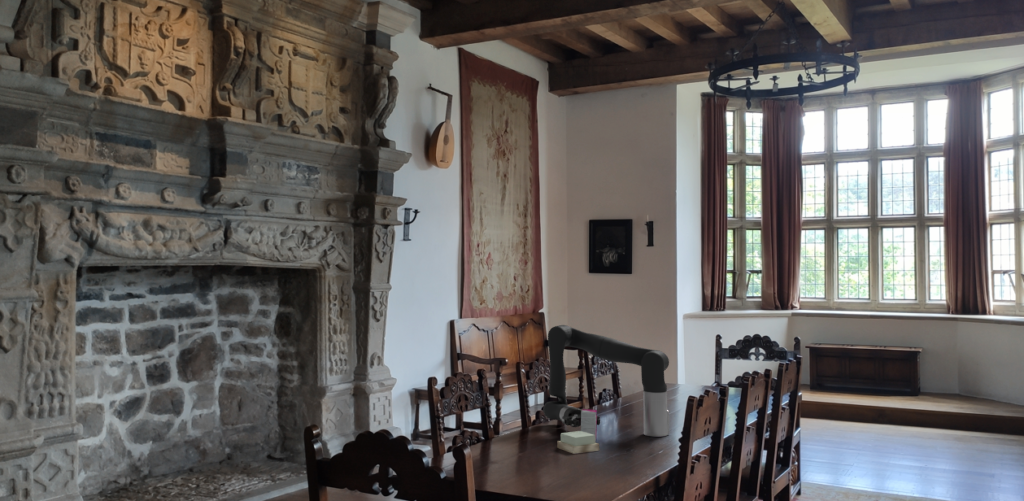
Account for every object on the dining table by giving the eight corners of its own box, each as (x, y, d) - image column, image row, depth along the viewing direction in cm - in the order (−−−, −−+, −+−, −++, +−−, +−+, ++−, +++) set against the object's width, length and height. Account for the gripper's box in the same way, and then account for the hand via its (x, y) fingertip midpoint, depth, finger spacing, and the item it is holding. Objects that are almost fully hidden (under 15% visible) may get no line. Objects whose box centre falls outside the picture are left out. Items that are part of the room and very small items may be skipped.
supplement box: (595, 442, 293) (595, 411, 293) (580, 441, 294) (580, 411, 295) (597, 439, 299) (597, 409, 299) (582, 438, 300) (581, 408, 300)
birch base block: (582, 446, 288) (582, 438, 288) (599, 452, 279) (599, 443, 279) (557, 449, 283) (557, 441, 283) (573, 455, 274) (573, 446, 274)
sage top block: (580, 439, 287) (580, 430, 287) (595, 443, 280) (595, 435, 280) (560, 441, 282) (560, 433, 283) (575, 446, 275) (575, 437, 275)
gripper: (555, 407, 310) (571, 414, 294) (587, 405, 314) (605, 412, 299) (555, 426, 309) (572, 434, 294) (587, 424, 314) (605, 431, 299)
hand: (588, 423), depth 297 cm, fingers open, 8 cm apart
